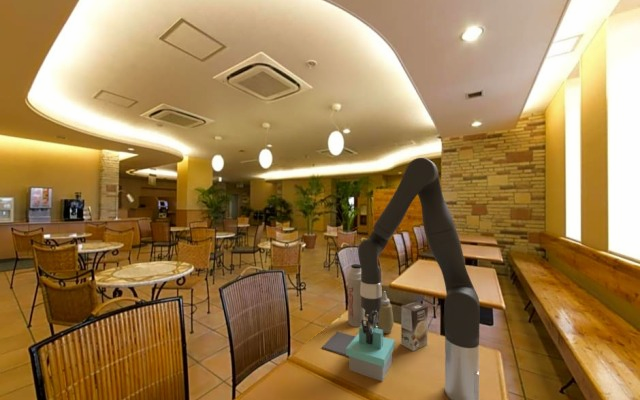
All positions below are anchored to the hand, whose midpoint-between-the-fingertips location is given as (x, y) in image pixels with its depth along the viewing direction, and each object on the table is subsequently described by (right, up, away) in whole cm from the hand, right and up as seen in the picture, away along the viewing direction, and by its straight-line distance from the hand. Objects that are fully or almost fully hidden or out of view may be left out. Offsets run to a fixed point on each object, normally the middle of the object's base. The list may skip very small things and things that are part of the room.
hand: (371, 340), depth 97 cm
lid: (0, -4, 0) cm, 4 cm away
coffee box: (+20, -9, +14) cm, 26 cm away
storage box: (0, -9, 0) cm, 9 cm away
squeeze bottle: (+11, -9, +25) cm, 29 cm away
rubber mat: (-8, -9, +14) cm, 19 cm away
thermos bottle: (-1, -9, +33) cm, 34 cm away
